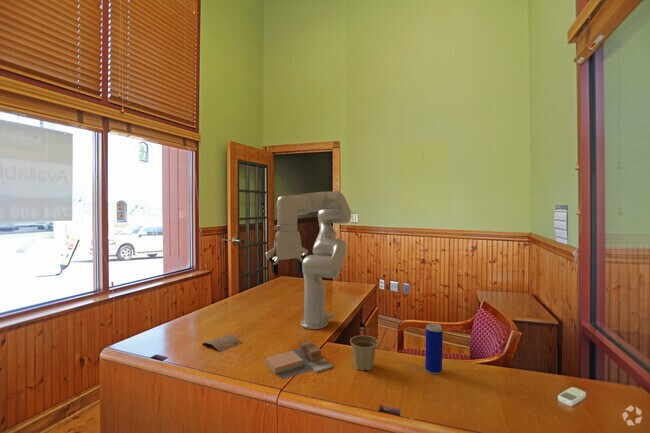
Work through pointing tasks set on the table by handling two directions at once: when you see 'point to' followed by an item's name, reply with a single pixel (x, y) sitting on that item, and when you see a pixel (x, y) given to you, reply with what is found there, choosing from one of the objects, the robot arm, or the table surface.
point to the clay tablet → (225, 342)
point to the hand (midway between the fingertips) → (287, 273)
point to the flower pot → (364, 351)
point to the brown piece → (314, 356)
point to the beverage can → (434, 348)
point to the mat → (296, 370)
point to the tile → (284, 362)
